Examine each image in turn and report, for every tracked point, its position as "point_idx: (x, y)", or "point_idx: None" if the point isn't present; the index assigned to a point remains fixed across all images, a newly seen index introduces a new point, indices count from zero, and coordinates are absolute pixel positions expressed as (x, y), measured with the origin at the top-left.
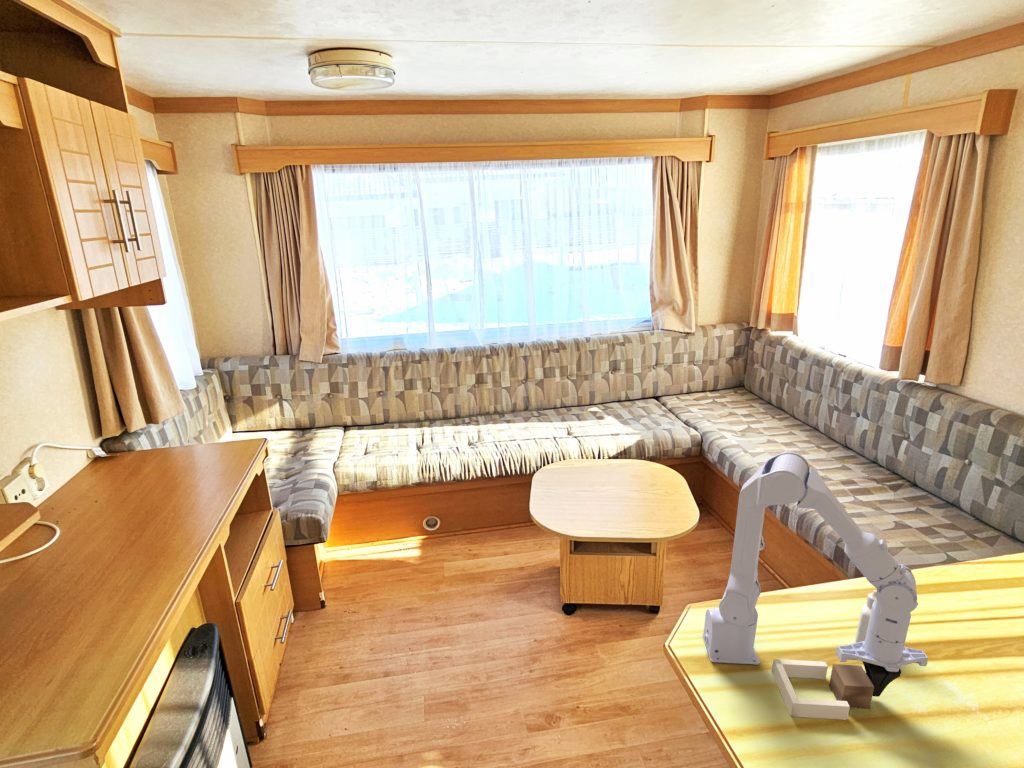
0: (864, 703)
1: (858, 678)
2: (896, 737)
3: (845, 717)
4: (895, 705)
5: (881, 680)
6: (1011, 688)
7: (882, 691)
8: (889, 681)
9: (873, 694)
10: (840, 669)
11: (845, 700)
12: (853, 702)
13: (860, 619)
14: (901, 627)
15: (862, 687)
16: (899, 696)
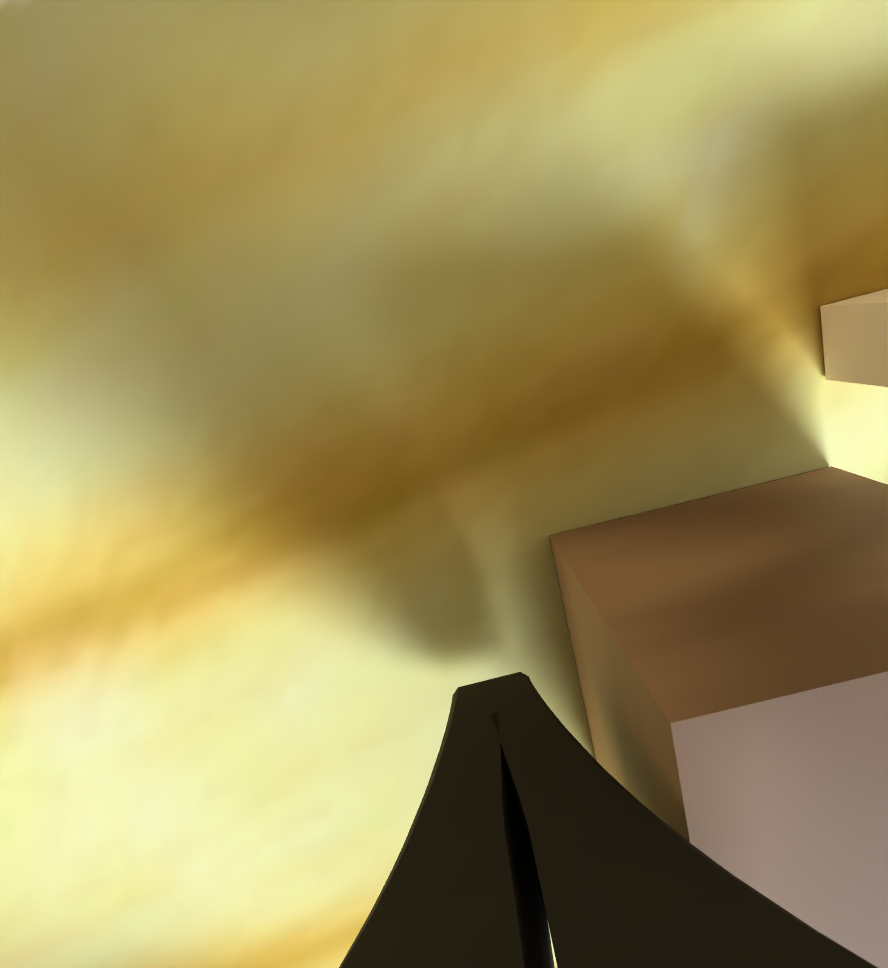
0: (631, 547)
1: (880, 831)
2: (358, 221)
3: (867, 297)
4: (291, 663)
5: (569, 911)
6: None
7: (447, 739)
8: (395, 936)
9: (529, 685)
10: None
11: (861, 502)
12: (757, 516)
13: None
14: None
15: (857, 659)
16: (237, 781)
